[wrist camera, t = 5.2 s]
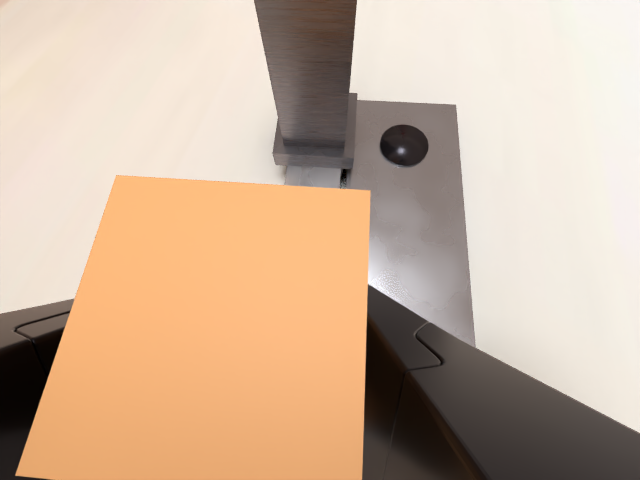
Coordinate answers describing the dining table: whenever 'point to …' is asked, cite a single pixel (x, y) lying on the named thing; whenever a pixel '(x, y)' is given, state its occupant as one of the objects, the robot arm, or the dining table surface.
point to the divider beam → (311, 86)
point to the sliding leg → (212, 338)
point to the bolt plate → (415, 209)
